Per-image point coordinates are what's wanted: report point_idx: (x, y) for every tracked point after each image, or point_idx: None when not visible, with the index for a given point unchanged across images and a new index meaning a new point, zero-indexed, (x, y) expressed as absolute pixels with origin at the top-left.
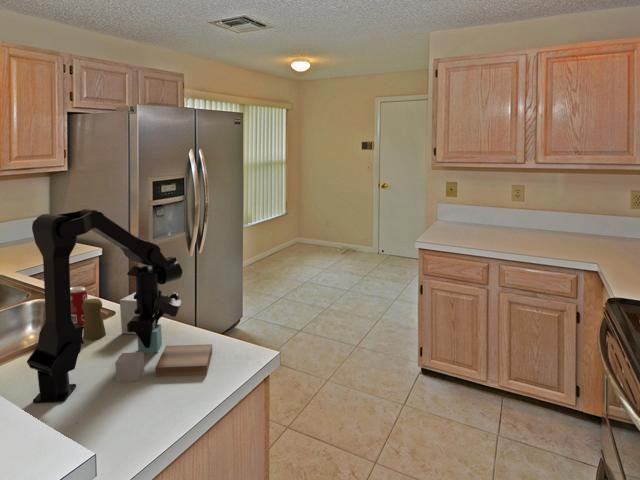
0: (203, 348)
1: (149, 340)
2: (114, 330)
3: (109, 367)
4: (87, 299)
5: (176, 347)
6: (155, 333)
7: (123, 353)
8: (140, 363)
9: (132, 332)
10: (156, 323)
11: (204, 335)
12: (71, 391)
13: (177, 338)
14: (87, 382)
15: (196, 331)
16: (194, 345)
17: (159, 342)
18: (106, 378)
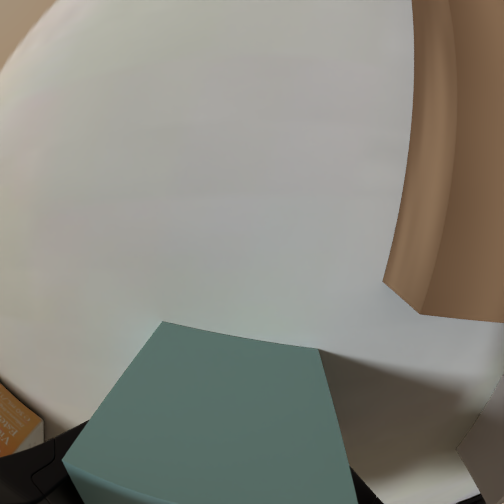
0: (500, 5)
1: (356, 479)
2: None
3: (389, 495)
4: None
5: (486, 201)
6: (348, 501)
7: (499, 502)
8: None
9: (40, 440)
10: (59, 488)
11: (88, 6)
12: (478, 498)
13: (71, 195)
14: (450, 496)
15: (15, 77)
16: (464, 31)
17: (241, 371)
18: (465, 470)
